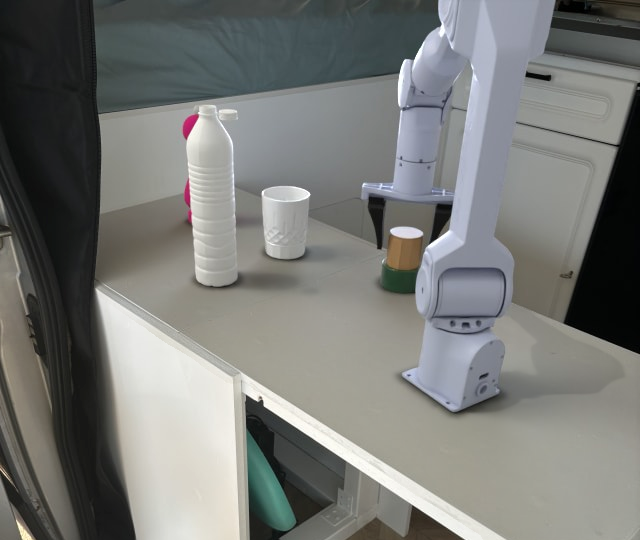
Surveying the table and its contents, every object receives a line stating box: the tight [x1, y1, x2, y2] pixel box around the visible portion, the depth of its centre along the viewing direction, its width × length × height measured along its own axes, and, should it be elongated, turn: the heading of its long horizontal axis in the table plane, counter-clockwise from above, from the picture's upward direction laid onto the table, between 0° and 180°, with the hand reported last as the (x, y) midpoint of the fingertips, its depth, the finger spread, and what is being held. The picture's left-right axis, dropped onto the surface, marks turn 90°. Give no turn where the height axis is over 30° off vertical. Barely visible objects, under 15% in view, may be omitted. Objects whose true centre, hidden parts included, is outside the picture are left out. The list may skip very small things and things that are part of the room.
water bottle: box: [185, 104, 239, 288], centre depth 95 cm, size 9×6×25 cm
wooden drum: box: [385, 226, 424, 270], centre depth 101 cm, size 5×5×5 cm
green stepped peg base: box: [379, 257, 422, 294], centre depth 102 cm, size 6×6×6 cm
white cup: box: [261, 185, 311, 260], centre depth 110 cm, size 8×8×10 cm
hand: (404, 249), depth 101 cm, fingers open, 7 cm apart
